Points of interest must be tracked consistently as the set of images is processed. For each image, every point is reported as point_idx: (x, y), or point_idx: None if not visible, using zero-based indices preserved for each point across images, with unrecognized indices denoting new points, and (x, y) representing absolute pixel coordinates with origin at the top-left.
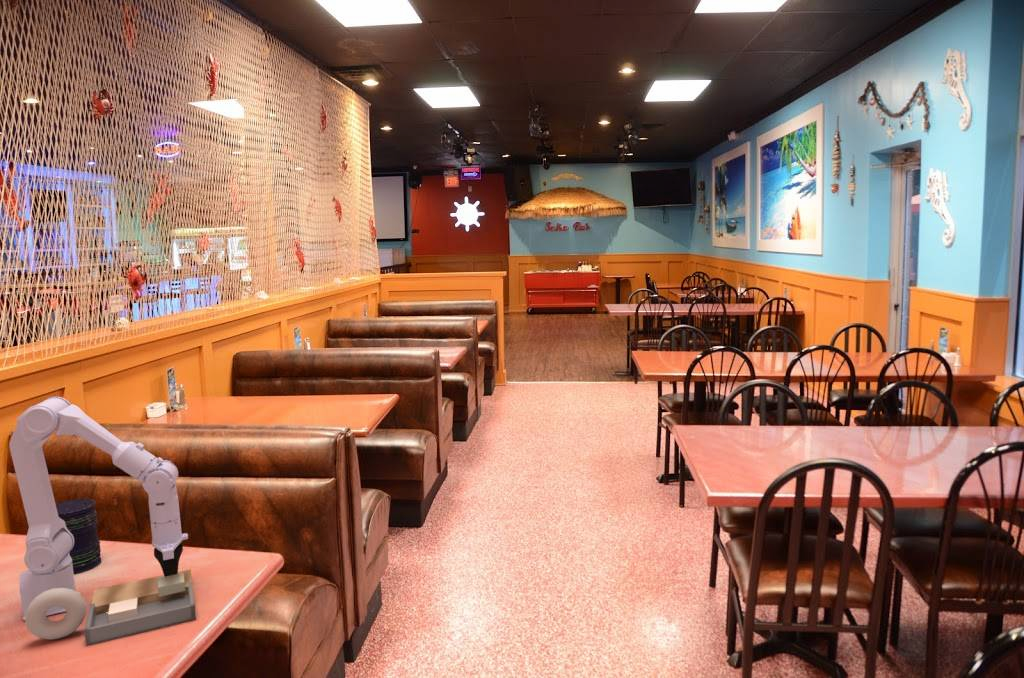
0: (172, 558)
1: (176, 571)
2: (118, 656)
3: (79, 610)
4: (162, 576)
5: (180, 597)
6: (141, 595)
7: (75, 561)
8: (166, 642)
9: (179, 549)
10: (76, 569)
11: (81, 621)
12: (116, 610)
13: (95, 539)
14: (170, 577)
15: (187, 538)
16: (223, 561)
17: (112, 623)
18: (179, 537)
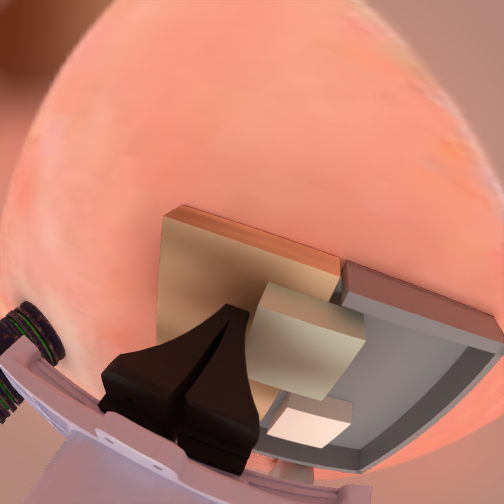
0: (368, 487)
1: (245, 335)
2: (446, 431)
3: None
4: (166, 307)
5: (338, 305)
6: (269, 390)
7: (49, 360)
8: (495, 381)
9: (232, 432)
10: (58, 350)
11: (311, 467)
12: (318, 440)
13: (9, 340)
14: (266, 353)
15: (178, 448)
16: (125, 73)
17: (384, 457)
18: (192, 500)
